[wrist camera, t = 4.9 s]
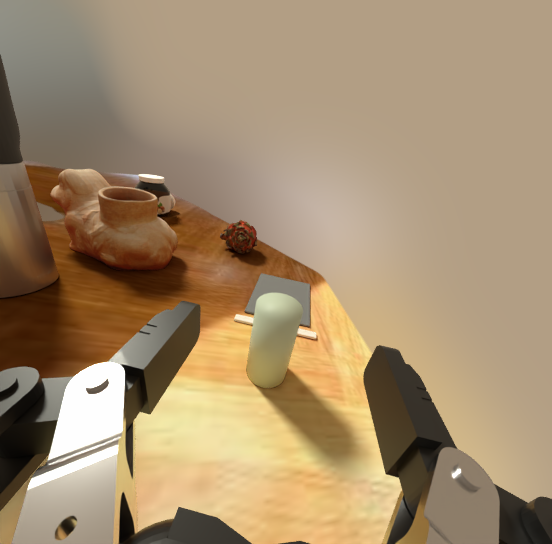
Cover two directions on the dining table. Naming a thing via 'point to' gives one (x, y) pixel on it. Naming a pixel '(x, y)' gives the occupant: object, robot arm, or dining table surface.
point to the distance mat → (285, 287)
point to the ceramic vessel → (113, 222)
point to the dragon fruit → (240, 237)
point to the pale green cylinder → (272, 338)
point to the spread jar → (157, 192)
